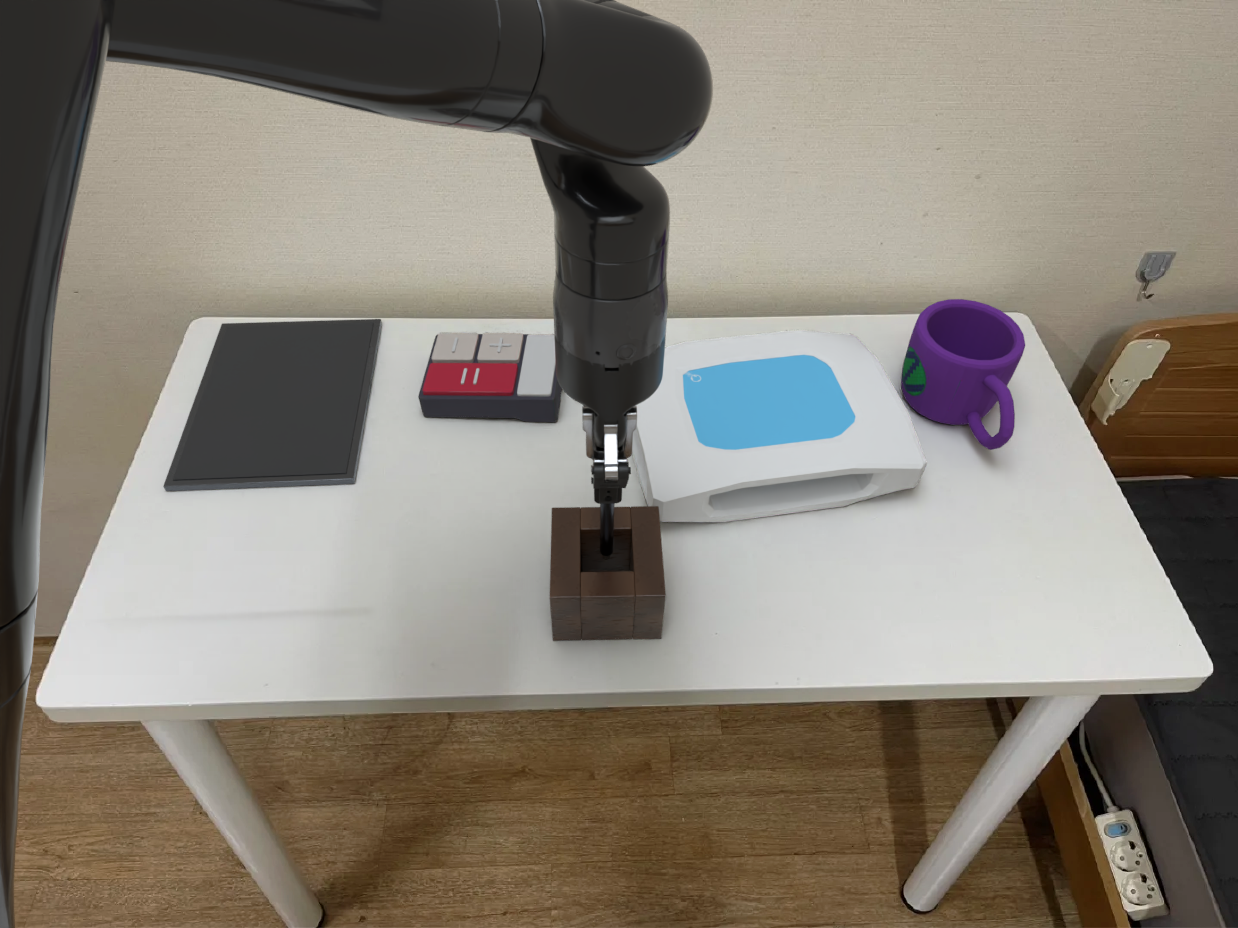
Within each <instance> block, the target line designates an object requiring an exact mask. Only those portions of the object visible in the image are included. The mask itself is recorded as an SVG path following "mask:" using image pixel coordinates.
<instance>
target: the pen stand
mask: <svg viewBox="0 0 1238 928" xmlns="http://www.w3.org/2000/svg"><path fill="white" fill-rule="evenodd" d="M550 522H551V524H550V526H551V528H550V532H551V533H550V563H549V564H550V569H549V570H550V571H549V605H550V606H549V608H550V619H551V620H550V621H551V622H550V623H551V635H552V641H553V642H558V641H560V642H561V641H564V642H565V641H611V640H614V641H615V640H617V641H618V640H661V639H662V636H663V627H664V618H665V617H664V616H665V607H666V600H667V599H666V597H667V593H666V581H665V568H664V555H663V543H662V531H661V530H662V529H661V521H660V516H659V507H658V506H648V505H647V506H643V505H641V506H639V505H637V506H615V507H614V546H613V553H612V554H611V555H610V559H609V560H607V561H606V560H604V559H603V555H602V554H601V553H600V506H581V507H579V506H575V507H573V506H572V507H571V506H569V507H551V521H550Z"/></svg>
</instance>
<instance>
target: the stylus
mask: <svg viewBox="0 0 1238 928" xmlns="http://www.w3.org/2000/svg"><path fill="white" fill-rule="evenodd" d="M615 504H616V503H612V504H599V507H600V553H601V554H602V555H603V559H604V560H606V561H607V560H609V559H610V555H611V554H612V553H613V546H614V507H616V505H615Z"/></svg>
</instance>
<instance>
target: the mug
mask: <svg viewBox="0 0 1238 928" xmlns="http://www.w3.org/2000/svg"><path fill="white" fill-rule="evenodd" d="M914 323H915V324H914V327H913V330H912V332H911V336H910V339H909V342H908V345H907V349H906V352H905V355H904V359H903V363H902V368H901V376H900V377H901V378H900V379H901V380H900V384H901V385H900V386H901V391H902V394H903V396H904V399H905V401H906V402H907V403H908V405H909V406H910V407H911V408H912V409H913V410H914V411H916V412H917V413H918V414H919V415H922V416H923V417H925V418H927V419H929V420H931V421H934V422H937V423H940V424H947V425H953V426H957V425H960V426H961V425H962V426H963V425H965V426H966V425H968V427H969V429H970V431H971V433H972V435H973V437H974V438H975V439H976V441H977V442H978V444H979V445H980V446H982V447H984V448H985V449H987V450H989V451H991V450H997V449H1000V448H1002V447H1004V445H1006V444H1007V443H1009V440H1011V438H1012V437H1013V436H1014V430H1015V421H1016V412H1015V404H1014V398H1013V395H1012V392H1011V390H1010V388H1009V387H1008V385H1009V383H1010V381H1011V379H1012V378H1013V375H1014V374H1015V373H1016V370H1017V367H1018V366H1019V363H1020V362H1021V359H1022V357H1023V354H1024V351H1025V347H1026V341H1025V335H1024V332H1023V331H1022V329H1021V327H1020V325H1018V324H1017V322H1016V321H1015V320H1014V319H1013V318H1012V317H1011V316H1009V315H1008V314H1006V312H1004V311H1002V310H1001V309H999V308H996V307H994V306H992V305H990V304H987V303H984V302H980V301H978V300H977V301H976V300H972V299H971V300H970V299H964V298H951V299H950V298H949V299H948V298H947V299H945V300H940V301H936V302H934V303H932V304H930V305H928V306H927V307H926V308H925V309H924V310H922V311H921V312H920V313H919V315H918V317H917V319H916V321H915V322H914ZM997 403H998V407H999V408H998V409H999V429H998V432H997V433H996V434H994V435H993V436H992V435H991V434H990V433H989V431H988V430H987V428H986V427H985V425H984V423H983V421H982V419H983V418H984V417H986V416H987V415H988V414H989V413H990V411H992V410H993V408H994V407H995V406H996V404H997Z"/></svg>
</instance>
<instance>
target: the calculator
mask: <svg viewBox="0 0 1238 928" xmlns="http://www.w3.org/2000/svg"><path fill="white" fill-rule="evenodd" d="M562 391H563V389H562V388H561V386H560V385H559V382H558V380H557V376H556V360H555V338H554V333H548V334H547V333H522V332H484V333H478V332H439V333H438V334H436V335H435V337H434V339H433V343H432V347H431V350H430V354H429V357H428V362H427V364H426V369H425V371H424V375H423V379H422V382H421V385H420V389H419V392H418V395H417V396H418V402H419V405H420V408H421V412H422V415H423V417H425V418H486V419H487V418H488V419H489V418H490V419H493V418H494V419H516V420H519V421H522V422H523V423H556V422H558V420H559V414H560V406H561V398H562Z"/></svg>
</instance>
